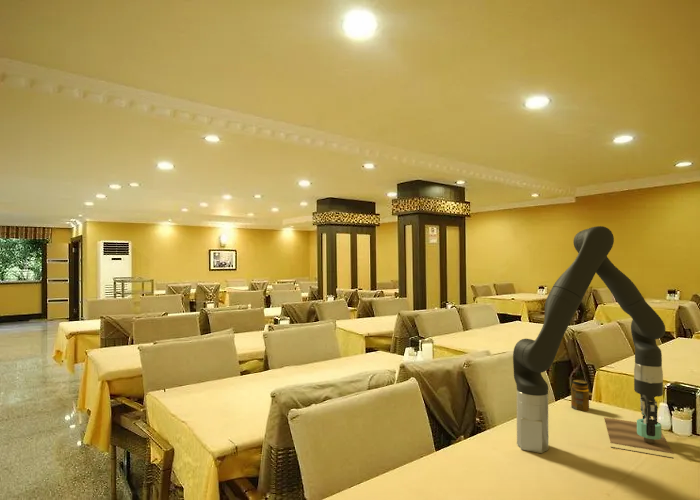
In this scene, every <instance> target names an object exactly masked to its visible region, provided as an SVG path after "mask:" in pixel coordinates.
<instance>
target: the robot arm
mask: <svg viewBox="0 0 700 500" xmlns="http://www.w3.org/2000/svg"><path fill="white" fill-rule="evenodd" d="M614 238H615V237H614V234H613V232H612V230H610V228H608V227H606V226H601V225H600V226H599V225H598V226H592V227H589V228H586V229H583V230H581V231H578V232H577V233H576V234H575V235H574V237H573V247H574V249H575V251H576V252H577V255H576V257H575V259H574V260H573V262H572V263H571V264H570V265H569V266H568V268H567V269H566V270H565V271H564V272H563V273H562V274H561V275H560V276H559V277H558V278H557V279H556V281H555V282H554V284H553V286H552V287H551V290H550V291H549V293H548V295H547V297H546V299H545V304H544V319H543V324H542V328H541V329H540V331H539V334H538V335H537V337H536V339H535V340H534V339H532V338H522V339H519V340H518V341H517V343H516V344H515V345H514V348H513V351H512V365H513V378H514V381H515V384H516V445H517V446H518V447H519V448H520V450H523V451H528V452H533V453H539V454H543V453H544V452H547V451H548V450H549V385H548V382H546V380H545V378H544V377H543V375H542V373H544V372H546V371H548V369H550V368H551V366H552V365H553V363H554V361H555V358H556V356H557V354H558V352H559V348H560V345H561V343H562V341H563V339H564V336H565V334H566V331H567V330H568V327H569V326H570V324H571V321H572V320H573V318H574V316H575V314H576V313H577V310H578V308H580V307H579V306H580V304H581V303H582V301H583V299H584V297H585V295H586V292H587V291H588V289H589V287H590V285H591V284H592V281H593V279H594V277H595V275H596V274H597V276H598V277H599V278H600V280H601V281H602V283H604V284H605V286H606V287H607V288H608V290H609V292H610V293H611V295H612V296H613V297H614V299H615V300H616V302H617V304H618V305H619V306H620V309H621V310H622V311H623V312H624V313H626V314H627V315H629V316H630V318H631V319H632V320H631V324H630V331H631V332H630V333H631V337H632V342H633V346H634V368H633V383H634V384H633V387H634V388H633V389H634V390H633V391H634V392H635V393H636V394H639V395H640V398H639V401H640V411H641V415H642V419H645V418H646V434H647V435H648V436H655V424H657V423H659V421H658V408H659V407H658V402H657V400H656V399H655V397H658V398H659V397H662V396H663V395H664V372H663V363H662V362H663V357H662V350H661V348H660V347H659V346H658V345H657V341H656V340H658V339H661V338H663V337H664V336H665V333H666V325H665V322H664V320H663V319H662V318H661V317H660V316H659V314H658V313H657V312H656V311H655V309H653V307H652V306H650V305H649V304H648V302H647V301H646V300H645V298H644V296H643V294H642V293H641V292H640V290H639V289H638V287H637V286H636V284H635V283H634V282H633V281H632V280H631V279H630V277H628V276H627V275H626V274H625V273H624V272H622V271H621V270H620V269H619V268H618V267H617V266H615V265H614V264H613V262H612V261H611V260H610V258H609V257H608V255H609V253H610V252H611V250H612V249H613V247H614V246H613V245H614V244H615V242H614V241H615V239H614ZM649 418H651V419H649ZM652 418H653V419H652Z"/></svg>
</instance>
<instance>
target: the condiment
mask: <svg viewBox="0 0 700 500" xmlns="http://www.w3.org/2000/svg"><path fill="white" fill-rule="evenodd" d="M571 382H572V383H571V384H572V385H571V389H570V390H571V391H570V393H571V394H570V395H571V397H570V398H571V399H570V401H571V402H570V403H571V405H570V406H571V407H570V408H571V409H573V410H574V411H578V412H579V411H580V412H589V411H590V389H589V383H588V381H586V380H584V379H583V380H582V379H573V380H572V381H571Z"/></svg>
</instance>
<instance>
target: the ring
mask: <svg viewBox="0 0 700 500" xmlns="http://www.w3.org/2000/svg"><path fill="white" fill-rule="evenodd" d="M643 421H644V419H643V418H638V419H636V422H637V434H638V435H640V436H642V437H645V438H648V439H661V432H662V424H661V422H658V423H657V424H655V436H648V435H647V434H646V424H645V423H643Z"/></svg>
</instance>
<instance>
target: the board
mask: <svg viewBox="0 0 700 500" xmlns="http://www.w3.org/2000/svg"><path fill="white" fill-rule="evenodd" d="M603 418H604V419H603V420H604V423H605V427H606V430H607V434H608V439H609V441H610V444H614V445H619V446H620V445H621V446H627V447H632V448H637V449H644V450H649V451H655V452H661V453H666V454H673V455H674V451H673V450H672V448H671V447H670V445H669V443H668V441H667V439H666V438H665V436H664V434H663V433H662V431H661V439H648V438H645V437H642V436H640V435H638V434H637V421H631V420H624V419H623V420H622V419H617V418H616V419H615V418H610V417H603ZM649 419H652V417H651V418H649ZM643 423H645V424H646V418H645V419H644V421H643ZM610 449H617V450H620V451H621V450H622V451H628V452H633V453H640V454H645V455H650V456H656V457H662V458H668V459H672V460H673V459H674V457H672V456H667V455H661V454H656V453H650V452H643V451H639V450H638V451H637V450H634V449H633V450H632V449H625V448H620V447H614V446H610Z"/></svg>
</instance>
